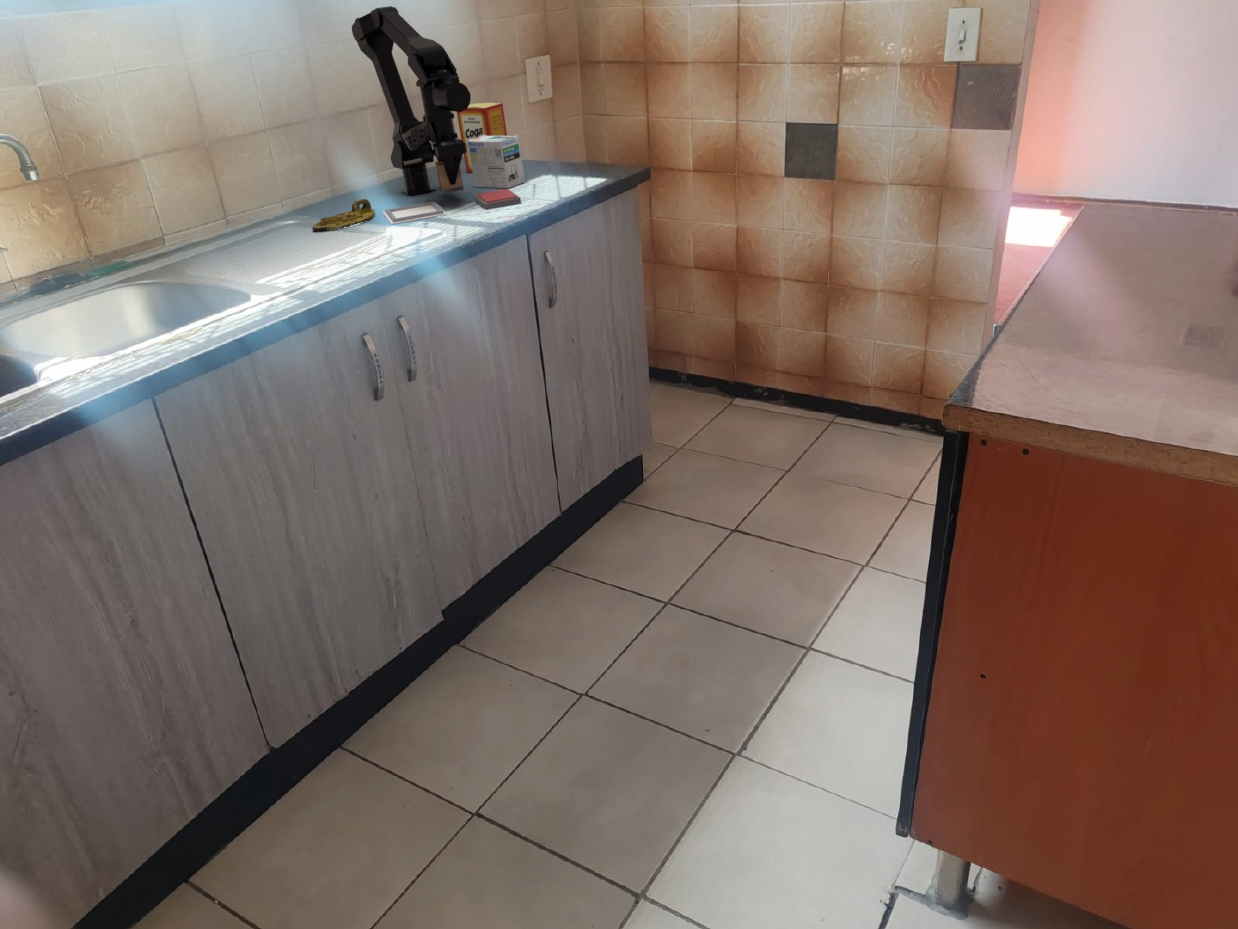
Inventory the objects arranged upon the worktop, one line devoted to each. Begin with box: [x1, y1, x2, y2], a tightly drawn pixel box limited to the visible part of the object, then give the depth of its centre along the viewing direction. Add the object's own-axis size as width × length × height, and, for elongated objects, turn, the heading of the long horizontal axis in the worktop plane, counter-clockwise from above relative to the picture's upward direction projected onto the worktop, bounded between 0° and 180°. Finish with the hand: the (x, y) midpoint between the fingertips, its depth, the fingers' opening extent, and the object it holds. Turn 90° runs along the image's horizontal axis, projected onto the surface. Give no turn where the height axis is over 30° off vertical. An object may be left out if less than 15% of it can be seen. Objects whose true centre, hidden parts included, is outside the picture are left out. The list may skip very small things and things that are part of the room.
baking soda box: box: [456, 102, 508, 174], centre depth 231 cm, size 10×6×16 cm
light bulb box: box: [467, 135, 526, 189], centre depth 217 cm, size 11×7×11 cm, turn 58°
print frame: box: [382, 200, 448, 225], centre depth 202 cm, size 12×12×1 cm
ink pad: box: [473, 188, 522, 210], centre depth 204 cm, size 10×8×2 cm
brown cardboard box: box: [434, 161, 465, 194], centre depth 207 cm, size 4×4×6 cm
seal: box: [312, 198, 376, 233], centre depth 199 cm, size 9×5×15 cm
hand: (450, 182), depth 207 cm, fingers closed on brown cardboard box, 4 cm apart
